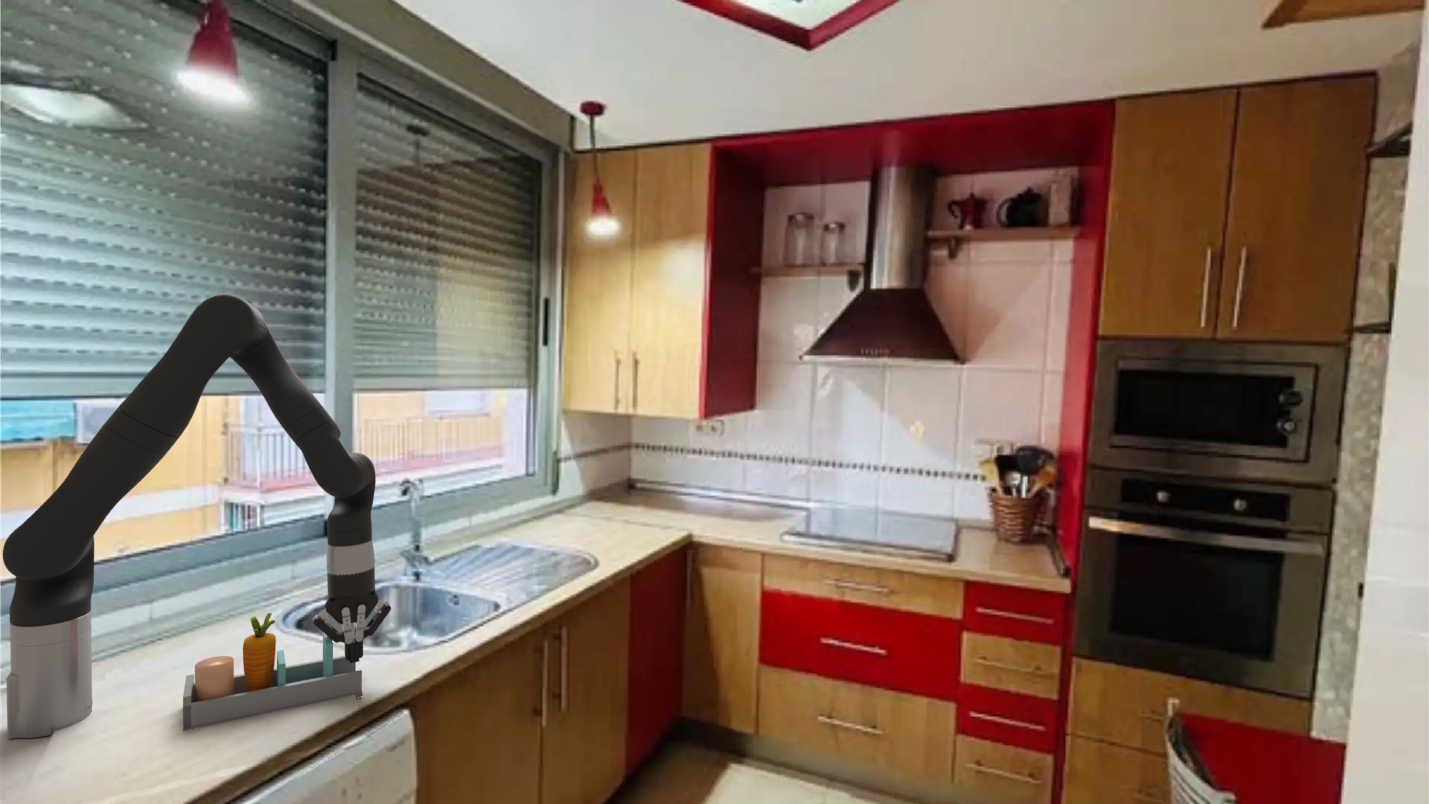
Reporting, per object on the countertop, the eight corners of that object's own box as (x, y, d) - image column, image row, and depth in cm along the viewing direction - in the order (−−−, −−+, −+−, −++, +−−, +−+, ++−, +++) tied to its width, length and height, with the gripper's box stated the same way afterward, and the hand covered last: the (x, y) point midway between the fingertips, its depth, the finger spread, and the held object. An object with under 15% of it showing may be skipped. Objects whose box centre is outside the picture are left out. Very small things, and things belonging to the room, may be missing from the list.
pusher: (278, 704, 117) (278, 652, 116) (276, 689, 122) (276, 639, 121) (332, 693, 121) (333, 643, 121) (328, 679, 126) (329, 631, 126)
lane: (182, 735, 108) (182, 699, 108) (186, 707, 116) (186, 673, 116) (362, 697, 122) (362, 664, 122) (354, 675, 130) (354, 644, 130)
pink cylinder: (194, 721, 111) (193, 672, 110) (195, 707, 115) (195, 660, 115) (233, 713, 114) (233, 665, 113) (234, 699, 118) (234, 653, 118)
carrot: (269, 691, 121) (269, 606, 121) (281, 700, 118) (282, 613, 118) (236, 702, 117) (236, 614, 117) (248, 711, 114) (249, 621, 114)
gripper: (387, 555, 131) (390, 645, 132) (306, 567, 124) (310, 662, 125) (395, 565, 125) (397, 659, 126) (310, 578, 118) (313, 678, 119)
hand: (354, 660), depth 126 cm, fingers closed
